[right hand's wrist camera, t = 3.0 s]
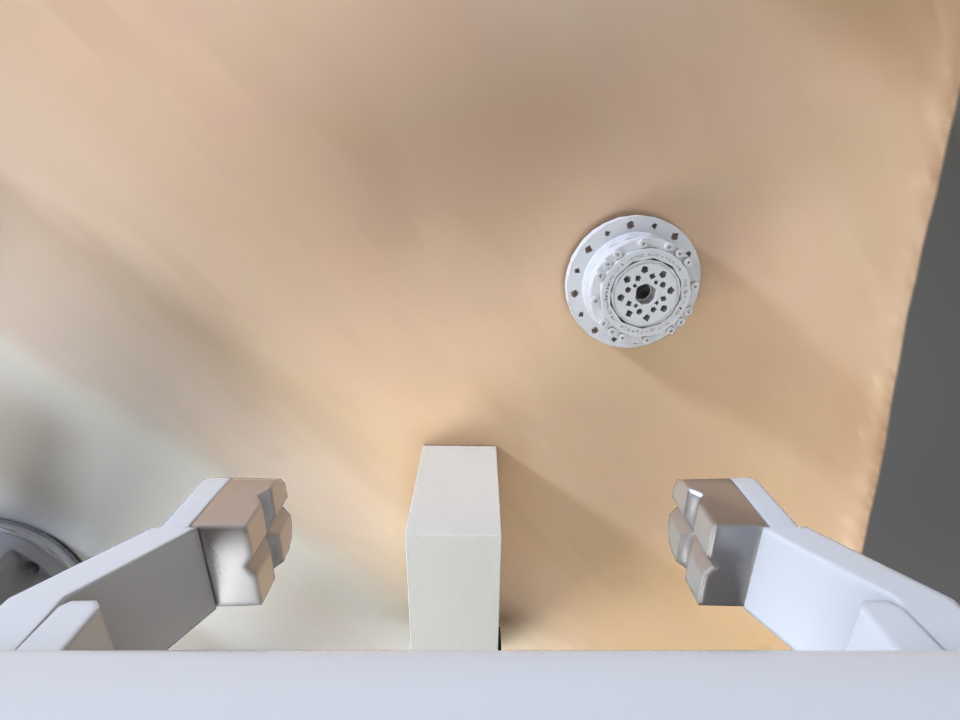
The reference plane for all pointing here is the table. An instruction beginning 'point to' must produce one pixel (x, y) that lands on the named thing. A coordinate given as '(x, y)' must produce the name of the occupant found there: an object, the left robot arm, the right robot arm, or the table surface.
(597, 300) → the mechanical component
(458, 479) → the box
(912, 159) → the table surface
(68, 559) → the left robot arm
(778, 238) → the table surface
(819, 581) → the right robot arm
